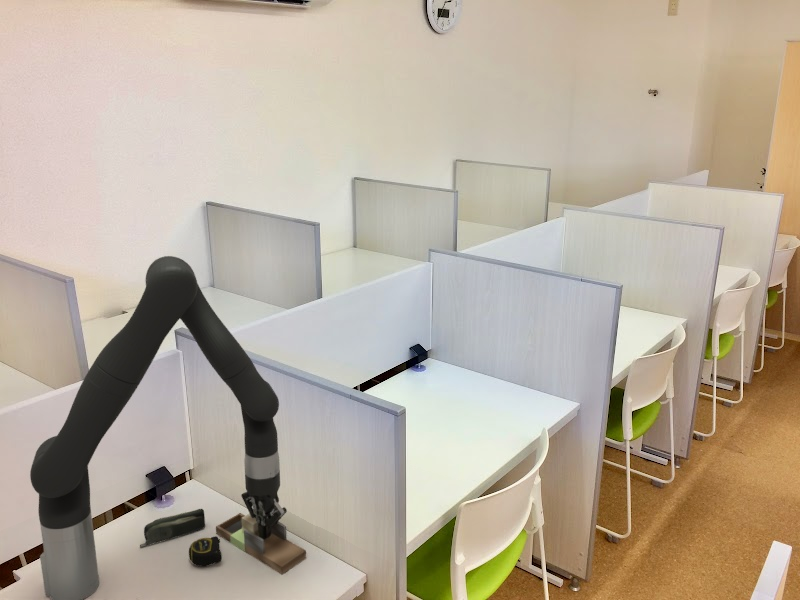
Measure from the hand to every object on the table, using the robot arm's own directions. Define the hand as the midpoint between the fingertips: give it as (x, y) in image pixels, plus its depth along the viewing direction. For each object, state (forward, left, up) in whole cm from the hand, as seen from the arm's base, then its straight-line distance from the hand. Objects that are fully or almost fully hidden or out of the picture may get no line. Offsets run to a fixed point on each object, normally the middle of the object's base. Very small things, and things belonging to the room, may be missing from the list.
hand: (265, 536), depth 153 cm
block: (-3, +3, -1) cm, 4 cm away
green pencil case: (-23, +2, -4) cm, 23 cm away
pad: (-5, +3, -3) cm, 6 cm away
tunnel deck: (-2, +1, -3) cm, 4 cm away
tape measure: (-12, -5, -4) cm, 13 cm away
